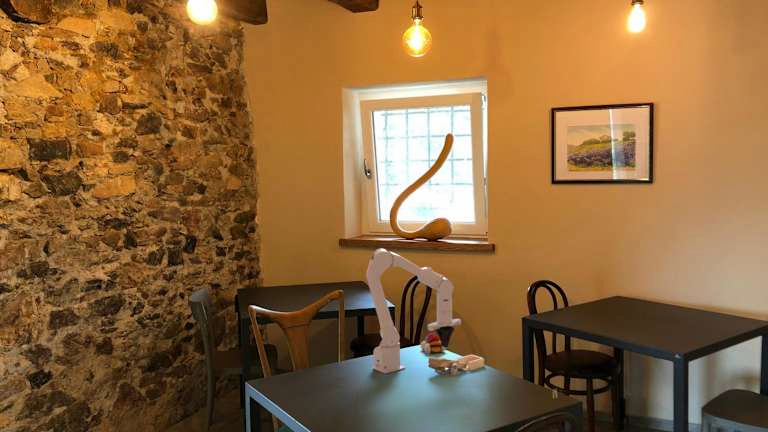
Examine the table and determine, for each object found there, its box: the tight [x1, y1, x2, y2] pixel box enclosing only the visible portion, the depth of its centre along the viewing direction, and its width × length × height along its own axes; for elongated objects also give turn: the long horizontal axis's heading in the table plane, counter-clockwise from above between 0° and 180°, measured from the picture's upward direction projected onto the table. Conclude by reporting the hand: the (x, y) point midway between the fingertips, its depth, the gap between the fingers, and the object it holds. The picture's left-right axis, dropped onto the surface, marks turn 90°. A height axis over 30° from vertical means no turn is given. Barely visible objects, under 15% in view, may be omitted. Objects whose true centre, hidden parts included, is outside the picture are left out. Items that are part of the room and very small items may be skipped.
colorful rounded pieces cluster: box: [420, 332, 446, 355], centre depth 248 cm, size 8×10×7 cm
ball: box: [469, 355, 478, 361], centre depth 229 cm, size 3×3×3 cm
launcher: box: [427, 357, 467, 371], centre depth 224 cm, size 14×12×3 cm
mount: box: [434, 363, 462, 378], centre depth 221 cm, size 5×9×4 cm, turn 35°
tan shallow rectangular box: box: [456, 354, 485, 372], centre depth 227 cm, size 9×6×3 cm
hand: (444, 346), depth 229 cm, fingers closed
